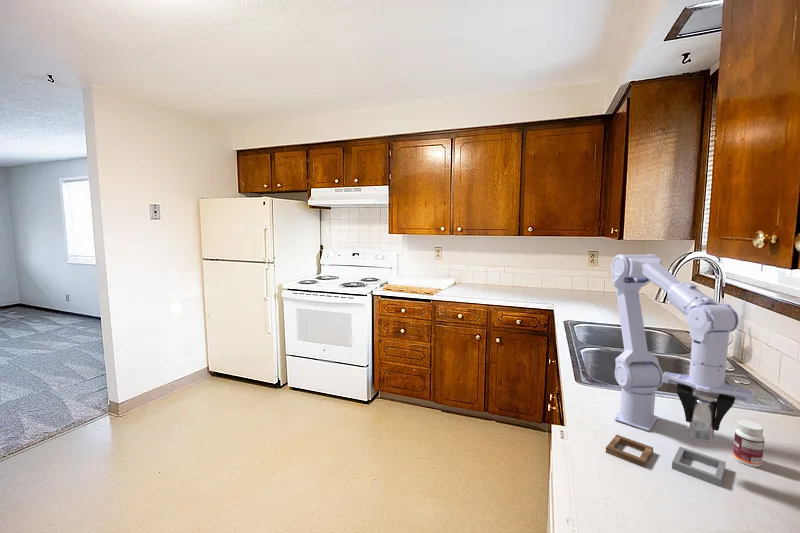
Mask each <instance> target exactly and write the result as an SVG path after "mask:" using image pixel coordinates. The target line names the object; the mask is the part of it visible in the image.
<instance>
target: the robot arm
mask: <svg viewBox="0 0 800 533" xmlns="http://www.w3.org/2000/svg"><path fill="white" fill-rule="evenodd" d="M610 272H611V279H612V286H613V287H615V296H616V300H617V309H618V315H619V323H620V329H621V335H622V342H623V348H624V349H623V350H624V351H623V352H621V353H620V354H619V355H618V356H617V357H615V359H614V360H615V361H614V362H615V369H614V377H615V381H616V382H617V383H618V385H619V386H620V387H621V392H620V393H621V394H620V408H619V409H620V410H619V413H618V414H617V415H616V416H615V417H614V421H617V422H620V423H623V424H627V425H629V426H632V427H634V428H635V427H636V428H638V429H640V430H644V431H647V432H650V431H651V429H652V428H653V427H654V425H655V424H656V422H657V420H658V419H659V417H658V416H657V415H656V414H655V403H656V402H655V401H656V393H655V392H658V388H660V387H661V386H662V385H663V384H671V385H672V384H673V385H677V387H676V390H675V392H676V394H677V396H678V398H679V400H680V402H681V405H682V408H683V412H684V417H685V422H687V423H689V424H690V419H691V407H692V396H693V395H694V392H695V390H697V391H701V392H705V393H709V394H714V395H717V399H716V401H717V407H716V417H715V423H714V431H716V432H717V431H719V430H720V426H721V422H722V420H723V418H724V417H725V415H726V414H728V412H729V411H730V409H731V408H732V407H733V406H734V404H735V400H738V401H741V402H744V403H745V404H749V405H753V402H754V393H755V392H754V391H751V390H748V389H743V388H740V387H738V386H734V385H731V384H729V383H725V382H726V381H725V380H726V371H727V370H726V369H727V368H726V367H727V359H728V348H729V338H730V333H732V332H734V331H735V330H736V329H737V328H738V326H739V322H740V319H739V314H738V313H737V311H736V309H735V308H734V307H732V305H731V304H729V303H719V302H718V301H715V300H714V299H713V298H712V297H711V296H708V295H707V294H705V293H704V292H702V291H701V290H700V289H699V288H697V287H698V285H696V284H695V283H694V282H681V281H680V280H678V278H676V276H674V274H672V273H671V272H670V271H669V270H668V269H667V268H665V267H664V265H663V260H662V259H661V258H659V257H658V256H657V255H656V254H653V253H649V254H622V253H621V254H620V253H619V254H617V255H616V256H615V257H614V258H613V259H612V262H611V263H610ZM650 282H652V283H653V284H654V285H655V286H657V287H659V288H660V289H661V290H662V291H664V292H665V293H666V294H667V301H668V302H669V303H670V304H672V305H673V306H674V307H675V308H676V309H677V310H678V311H679V312H680V313H682V314H683V315H684V316H685V318H686V323H687V325H688V328H689V336H690V338H691V339H692V340H691V349H690V350H691V351H690V361H689V363H690V364H689V373H688V374H689V375H688V374H681V373H674V372H669V371H665V372H663V370H662V368H661V366H660V362H659V358H658V357H656V356H655V355H654V354H652V353H651V352H650V351H649V350H648V343H647V339H646V337H647V336H646V331H645V330H646V329H645V326H644V319H643V312H642V307H641V306H642V305H641V300H640V294H639V293H640V290H641V289H642V288H643V287H645V286H647V285H648V284H649V283H650ZM637 362H638V363H637Z"/></svg>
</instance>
